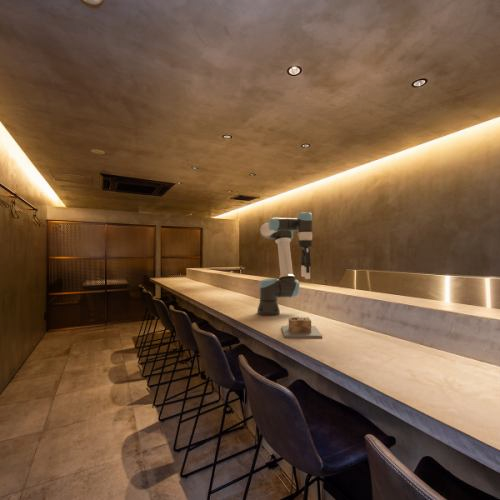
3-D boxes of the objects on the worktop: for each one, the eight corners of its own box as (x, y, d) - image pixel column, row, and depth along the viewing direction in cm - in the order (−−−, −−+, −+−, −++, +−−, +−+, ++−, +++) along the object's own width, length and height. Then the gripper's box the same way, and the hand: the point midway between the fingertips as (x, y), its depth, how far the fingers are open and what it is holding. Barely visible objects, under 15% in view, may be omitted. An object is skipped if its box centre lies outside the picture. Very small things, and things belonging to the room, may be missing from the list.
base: (281, 328, 157) (281, 313, 157) (315, 328, 156) (314, 313, 157) (284, 337, 139) (284, 321, 139) (322, 338, 138) (322, 321, 139)
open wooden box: (308, 328, 151) (308, 317, 151) (311, 332, 144) (311, 320, 144) (288, 328, 151) (288, 317, 151) (290, 332, 144) (290, 320, 144)
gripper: (295, 240, 175) (296, 275, 175) (301, 239, 151) (302, 279, 150) (308, 240, 175) (308, 275, 175) (316, 238, 150) (316, 279, 150)
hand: (305, 277), depth 163 cm, fingers open, 13 cm apart
